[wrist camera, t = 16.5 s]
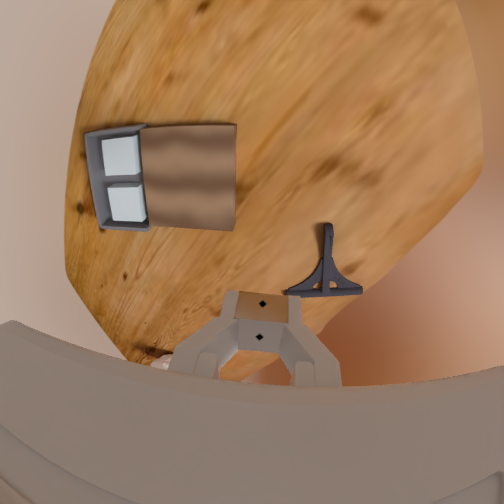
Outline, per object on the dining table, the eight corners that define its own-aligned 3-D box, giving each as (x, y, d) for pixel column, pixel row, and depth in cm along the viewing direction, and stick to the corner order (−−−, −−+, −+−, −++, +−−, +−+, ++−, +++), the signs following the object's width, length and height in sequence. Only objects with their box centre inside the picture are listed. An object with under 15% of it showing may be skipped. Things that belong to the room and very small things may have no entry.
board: (147, 127, 37) (139, 129, 34) (236, 124, 36) (233, 125, 34) (155, 219, 45) (149, 225, 43) (235, 224, 44) (232, 231, 42)
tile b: (114, 183, 41) (107, 187, 39) (144, 182, 41) (137, 187, 39) (119, 214, 45) (113, 220, 43) (148, 215, 44) (142, 221, 42)
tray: (96, 129, 37) (84, 133, 34) (147, 123, 36) (136, 126, 33) (109, 220, 46) (99, 228, 43) (155, 222, 45) (147, 231, 42)
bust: (199, 357, 68) (192, 370, 57) (195, 381, 68) (187, 398, 56) (157, 345, 68) (144, 356, 57) (154, 370, 67) (140, 384, 56)
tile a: (109, 137, 37) (101, 140, 35) (140, 134, 37) (132, 136, 35) (113, 171, 40) (105, 175, 38) (142, 170, 40) (136, 174, 38)
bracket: (369, 220, 42) (373, 228, 40) (360, 290, 50) (363, 300, 47) (283, 222, 44) (283, 230, 42) (286, 293, 52) (286, 303, 49)
